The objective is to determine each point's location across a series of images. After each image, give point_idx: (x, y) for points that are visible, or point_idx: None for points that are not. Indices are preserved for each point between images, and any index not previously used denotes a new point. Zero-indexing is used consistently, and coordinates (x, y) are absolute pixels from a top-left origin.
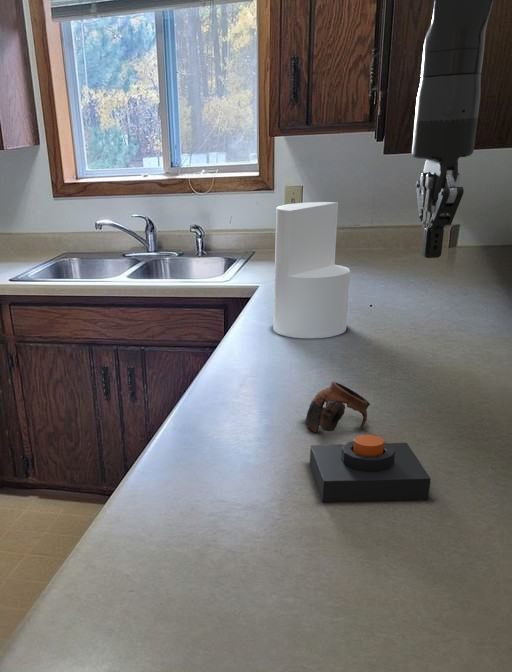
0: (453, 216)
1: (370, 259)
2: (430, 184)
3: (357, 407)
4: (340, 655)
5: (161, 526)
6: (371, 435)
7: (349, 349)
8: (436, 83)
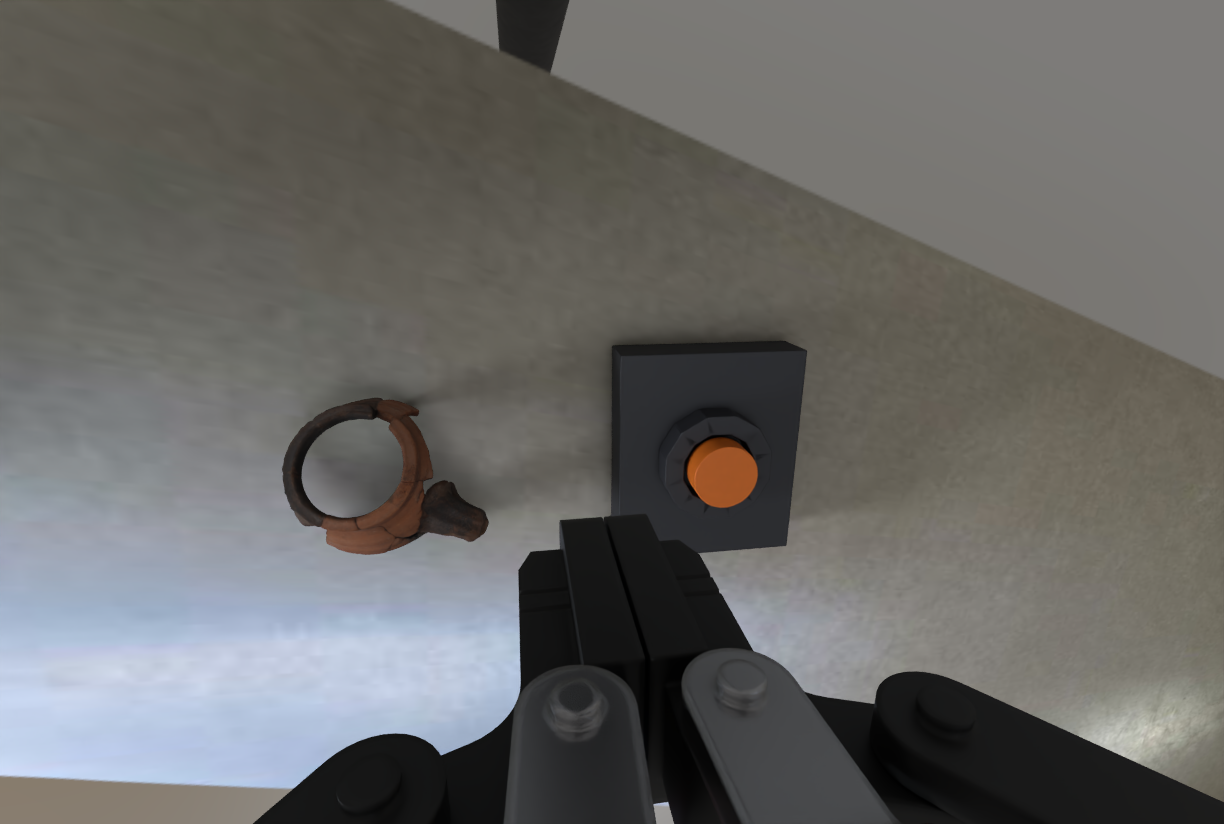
0: (1112, 761)
1: None
2: None
3: (420, 448)
4: (1114, 531)
5: None
6: (700, 469)
7: None
8: None
